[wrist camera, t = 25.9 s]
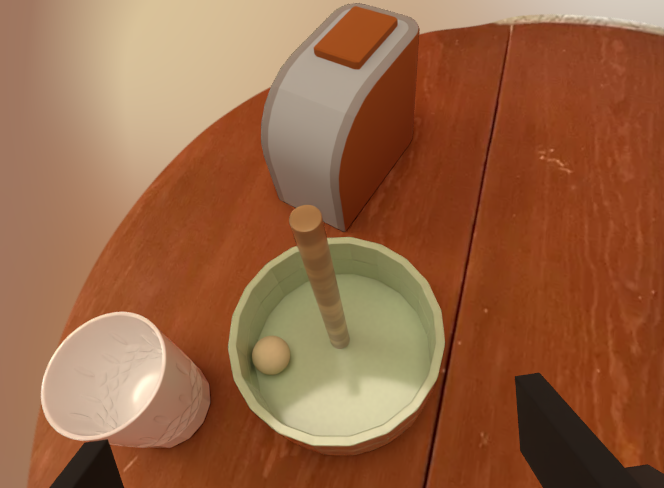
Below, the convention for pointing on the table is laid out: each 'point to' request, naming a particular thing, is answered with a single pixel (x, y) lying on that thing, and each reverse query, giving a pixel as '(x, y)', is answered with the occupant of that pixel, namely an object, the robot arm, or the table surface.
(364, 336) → the bowl
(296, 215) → the stick
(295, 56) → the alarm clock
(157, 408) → the white cup
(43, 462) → the table surface
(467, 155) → the table surface
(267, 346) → the dough ball
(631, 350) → the table surface
